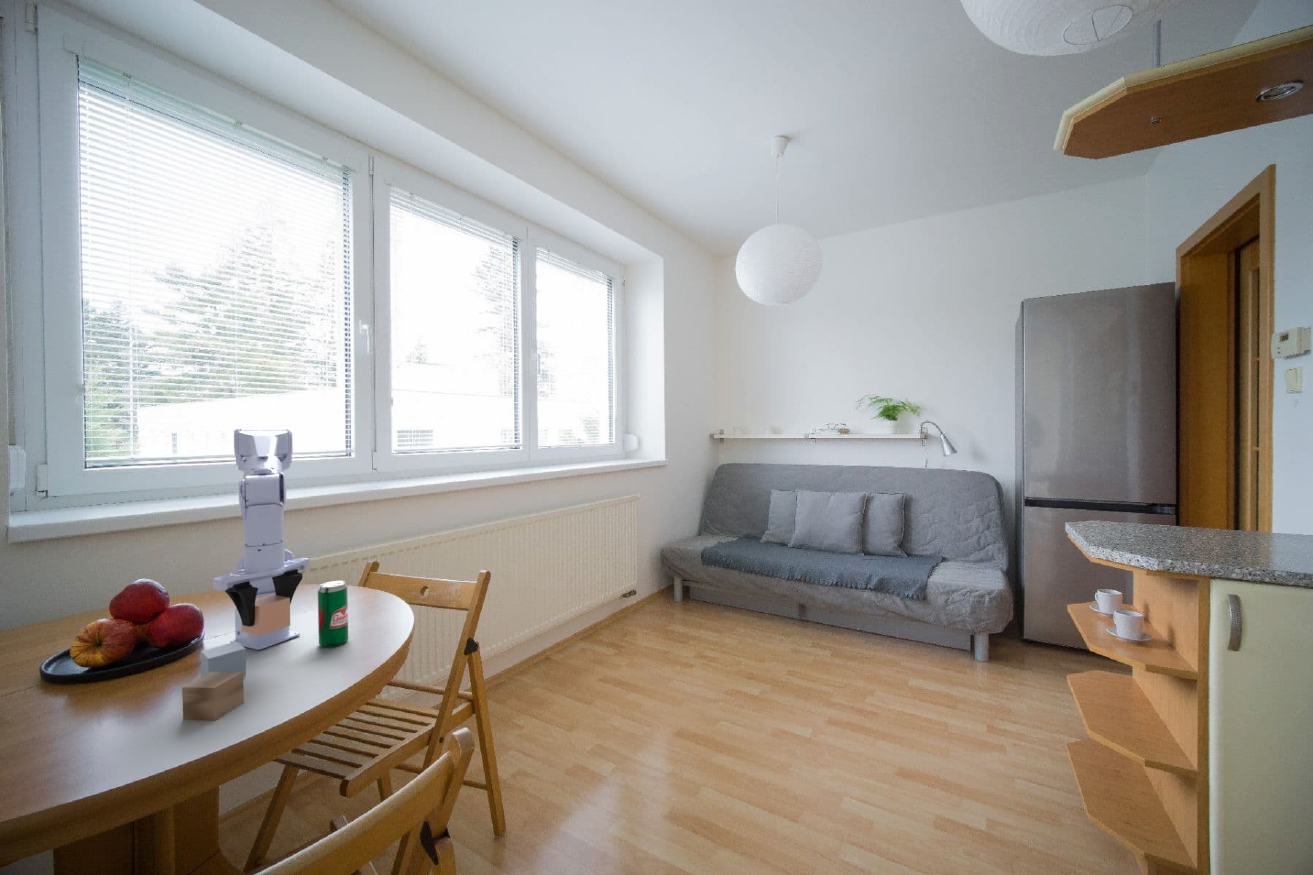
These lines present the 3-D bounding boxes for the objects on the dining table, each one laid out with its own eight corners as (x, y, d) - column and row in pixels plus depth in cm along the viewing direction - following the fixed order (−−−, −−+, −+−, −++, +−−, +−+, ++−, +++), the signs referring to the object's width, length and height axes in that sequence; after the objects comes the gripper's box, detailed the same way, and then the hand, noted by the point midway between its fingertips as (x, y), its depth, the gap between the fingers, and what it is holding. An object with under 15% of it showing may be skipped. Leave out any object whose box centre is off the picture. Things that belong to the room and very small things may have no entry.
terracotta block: (241, 631, 90) (241, 603, 90) (272, 621, 95) (271, 594, 95) (259, 635, 88) (259, 606, 88) (290, 625, 93) (289, 597, 93)
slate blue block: (201, 679, 89) (200, 650, 89) (237, 668, 93) (237, 641, 93) (209, 688, 86) (208, 658, 86) (246, 676, 90) (245, 648, 90)
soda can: (334, 649, 101) (333, 588, 101) (312, 647, 102) (311, 586, 102) (354, 639, 106) (353, 580, 106) (333, 637, 107) (332, 579, 107)
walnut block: (183, 720, 77) (182, 687, 77) (213, 702, 82) (212, 671, 82) (215, 721, 77) (214, 687, 76) (243, 703, 82) (243, 671, 81)
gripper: (230, 554, 83) (232, 638, 83) (320, 536, 96) (321, 609, 97) (205, 550, 86) (207, 632, 86) (295, 533, 99) (296, 604, 99)
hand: (265, 619), depth 91 cm, fingers closed on terracotta block, 5 cm apart
